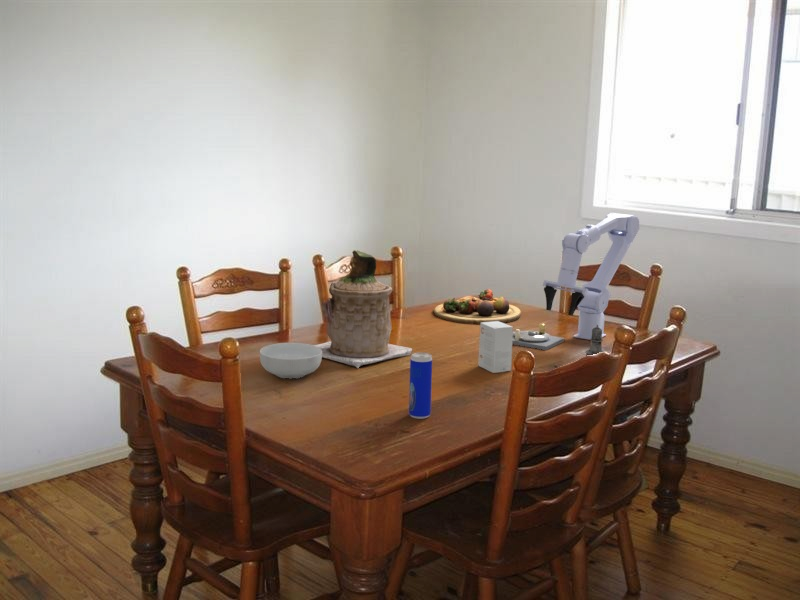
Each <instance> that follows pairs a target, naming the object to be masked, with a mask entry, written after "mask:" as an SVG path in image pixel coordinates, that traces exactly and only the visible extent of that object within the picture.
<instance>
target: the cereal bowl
mask: <svg viewBox="0 0 800 600" xmlns="http://www.w3.org/2000/svg"><path fill="white" fill-rule="evenodd" d="M313 345H314V344H310V343H301V342H278V343H273V344H269V345H264V346H263V347H261V348H260V349H259V361H260V364H261V365H262V368H263V369H265V370H266V371H267V372H268V373H270V374H272V375H275V376H276V377H278V378H280V379H285V378H289V379H288V380H290V379H292V378H296V379H301V378H303V377H305V375H306V376H307V375H309V374H312V373H314V372H315V371H316V370H317V369H318V368H319V367H320V365H321V364H322V363H321V362H322V358H323V357H322V350H321V349H320V348H318V347H316V346H313ZM300 377H301V378H300Z"/></svg>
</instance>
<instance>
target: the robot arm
mask: <svg viewBox="0 0 800 600" xmlns="http://www.w3.org/2000/svg"><path fill="white" fill-rule="evenodd" d="M639 219H640V218H639V217H638V215H636V214H624V213H617V212H610V213H608V214H606V215H605V218H604V219H602V220H601V221H599V222H598V223H597V224H595V225H594V224H586V225H585V227H583V228H581V229H578V230H577V231H576V232H574V233H571V232H570V233H567V234H566V235H565V236H564V238H563V239H562V240H561V241H562V242H561V245H562V252H561V253H562V259H561V264H560V267H559V268H560V269H559V272H558V275H557V276H558V277H557V279H556V282H555V281H552V280H551V281H550V280H546V279H543V283H542V286H543V291H544V294H545V302H546V303H545V304H546V307H545V308H546V311H550V312H551V311H552V310H551V309H552V307H553V302H554V298H555V295H556V294H557V291H558V290H561V291H565V292H570V293H571V300H570V306H569V310H568V313H567V314H568V316H574V314H575V312H576V309H577V310H578V311H579V313H578V328H577V333H576V334H574V335H573V336H572V337H573V338H577V339H582V340H587V341H588V340H589V341H591V340H590V339H591V338H592V329H593V328H596V327H597V325H598V327H599V328H600V329H602V338H604V337H605V336H607V334H606V333H604V331H605V329H604V328H605V314H604V312H605V311H606V309H607V308H608V305H609V300H610V298H611V296H612V295H611V292H610V290H609V289H608V287H609V284H610V283H611V281H612V280H613V277H614V276H615V273H616V272H617V270H618V269H619V266H620V265H621V263H622V261H623V259H624V257H625V256H626V254H627V253H628V250H629V248H630V246H631V243H633V241H634V240H635V238H636V236H637V234H638V232H639V230H640V220H639ZM605 233H607V235H608V238H609V240H610V241H611V242H612V244H611V246H610V247H609V250H608V251H607V253H606V254H605V257H604V258H603V260H602V261H601V264H600V265H599V268H598V269H597V271H596V273H595V275H594V277H593V278H592V279H591V281H589V282H586V283H583V285H582V287H580V286H576V283H577V278H578V273H579V269H580V265H581V261H582V257H583V254H584V253H586V252H587V250H588V249H589V247H590V246H591V245H593V244H594V243H596V242H597V241H599V240H600V238H601V236H602V235H603V234H605ZM561 287H562V288H561Z"/></svg>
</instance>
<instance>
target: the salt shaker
mask: <svg viewBox="0 0 800 600" xmlns="http://www.w3.org/2000/svg"><path fill="white" fill-rule="evenodd" d="M602 338H603V337H602V329H600V328H599V327H598V325H597V327H596V328H593V329H592V338H591V339H590V340H589V341H590V347H589V348H588V350H585V351H584V352H585V357H587V355H593V354H597V353H599V352H604V351H603V350H602V342H603V339H602Z"/></svg>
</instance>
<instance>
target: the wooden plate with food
mask: <svg viewBox="0 0 800 600" xmlns="http://www.w3.org/2000/svg"><path fill="white" fill-rule="evenodd" d="M493 295H494V294H493V291H492V290H491V289H490V288H488V289H487V288H486V289H484V291H480V292H479V294H478V295H477V296H478V298H477V297H475V296H471V295H466V296H463V297H461V298H459V299H457V300H456V297H453V298H452V299H451V298H450V299H447V300H445V301H444V302H443V303H441V304H438V305H436V307H434V309H433V313H434V315H435V316H436V317H437V316H438V317H437V318H439V317H440V319H441V320H444V319H446V320H445V321H448V320H450V321H449V322H453V321H455V322H454V323H458V322H463V323H462V324H466V323H474V324H473V325H480V323H481V322H493V321H499V322H502V323H504V324H507V323H511V322H514V321H516V320H518V319H519V318H520V317H521V316H522V311H521V309H520V308H519V307H517V306H515V305H513V304H510V303H509V301H508V299H507V298H506V297H504V296H503V295H502V296H500V297H493ZM506 322H507V323H506Z"/></svg>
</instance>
